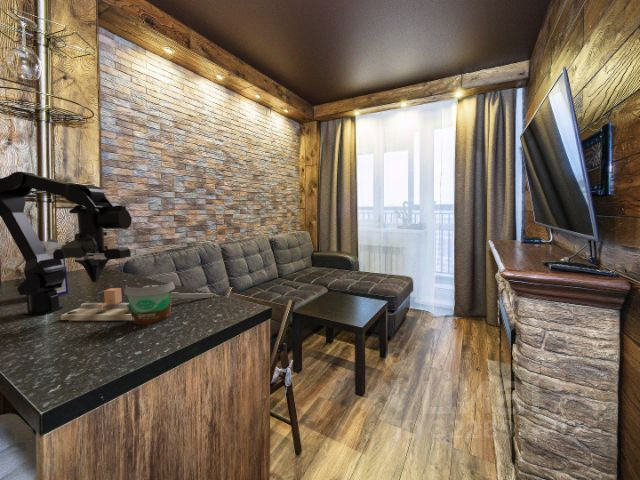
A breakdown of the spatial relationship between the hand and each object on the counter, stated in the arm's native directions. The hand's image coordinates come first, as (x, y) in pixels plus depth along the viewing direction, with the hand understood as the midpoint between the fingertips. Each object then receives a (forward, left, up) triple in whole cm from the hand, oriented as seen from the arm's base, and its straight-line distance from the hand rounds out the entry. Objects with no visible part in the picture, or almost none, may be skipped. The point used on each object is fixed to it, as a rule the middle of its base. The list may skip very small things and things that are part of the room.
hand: (95, 282), depth 88 cm
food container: (+20, -8, -9) cm, 23 cm away
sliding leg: (+5, -2, -7) cm, 9 cm away
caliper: (+23, +10, -10) cm, 26 cm away
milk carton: (-29, +18, -9) cm, 36 cm away
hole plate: (+5, -1, -9) cm, 10 cm away
